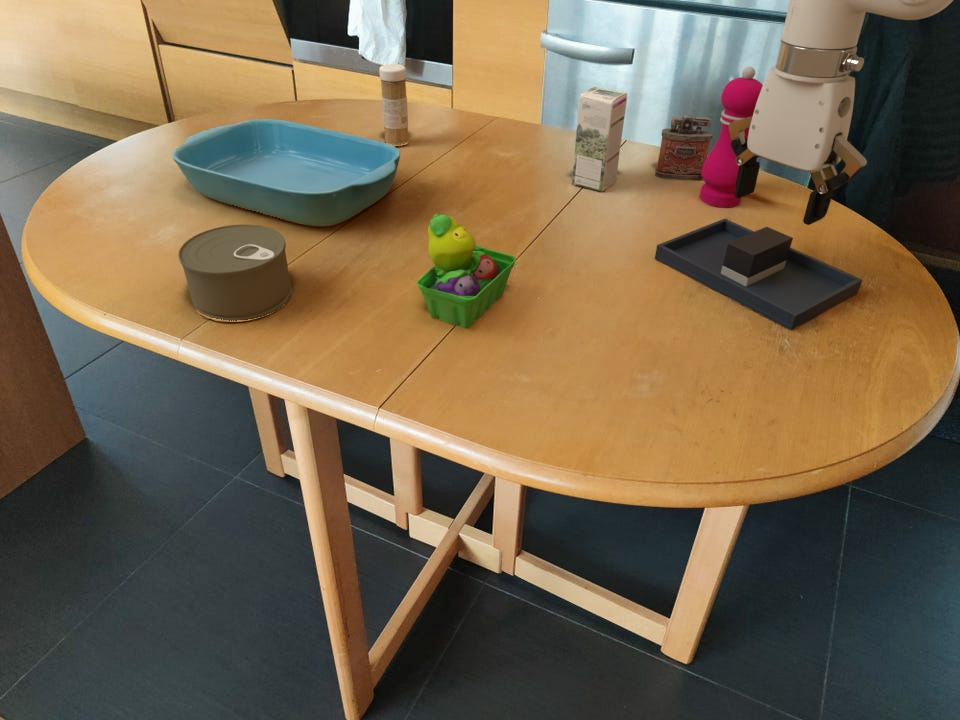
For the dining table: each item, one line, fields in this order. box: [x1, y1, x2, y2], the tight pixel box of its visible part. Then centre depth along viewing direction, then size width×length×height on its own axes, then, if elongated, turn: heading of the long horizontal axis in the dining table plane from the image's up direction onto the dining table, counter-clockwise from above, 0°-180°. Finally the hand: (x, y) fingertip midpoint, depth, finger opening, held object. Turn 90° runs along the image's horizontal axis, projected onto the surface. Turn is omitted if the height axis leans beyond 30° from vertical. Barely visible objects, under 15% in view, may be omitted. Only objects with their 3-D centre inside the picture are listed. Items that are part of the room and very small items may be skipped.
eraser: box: [721, 226, 794, 286], centre depth 92 cm, size 4×8×4 cm, turn 126°
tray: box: [654, 218, 864, 331], centre depth 93 cm, size 21×14×2 cm
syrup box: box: [571, 86, 628, 193], centre depth 113 cm, size 6×6×14 cm
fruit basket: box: [416, 213, 517, 330], centre depth 83 cm, size 11×9×11 cm
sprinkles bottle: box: [378, 63, 410, 145], centre depth 127 cm, size 5×5×13 cm
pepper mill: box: [699, 66, 763, 208], centre depth 107 cm, size 7×7×20 cm
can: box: [177, 224, 292, 321], centre depth 85 cm, size 12×12×7 cm
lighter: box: [654, 114, 714, 182], centre depth 117 cm, size 8×3×10 cm, turn 82°
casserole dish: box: [171, 118, 401, 228], centre depth 110 cm, size 37×22×7 cm, turn 61°
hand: (776, 207), depth 87 cm, fingers open, 9 cm apart
